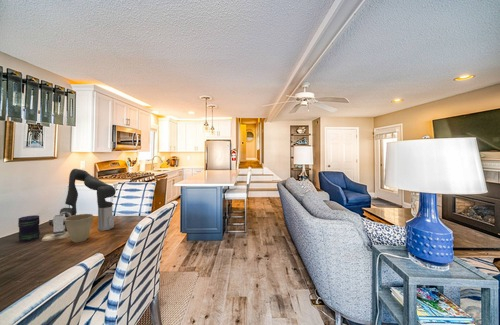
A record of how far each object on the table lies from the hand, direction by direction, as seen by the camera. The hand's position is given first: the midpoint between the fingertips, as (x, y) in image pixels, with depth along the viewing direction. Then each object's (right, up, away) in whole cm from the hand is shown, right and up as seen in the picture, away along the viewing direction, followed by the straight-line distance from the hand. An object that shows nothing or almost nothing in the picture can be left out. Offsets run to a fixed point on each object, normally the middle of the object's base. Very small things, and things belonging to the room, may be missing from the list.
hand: (58, 224), depth 143 cm
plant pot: (+17, -10, -3) cm, 20 cm away
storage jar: (-17, -9, -3) cm, 19 cm away
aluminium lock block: (-2, -6, +3) cm, 7 cm away
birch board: (-1, -9, +3) cm, 10 cm away
